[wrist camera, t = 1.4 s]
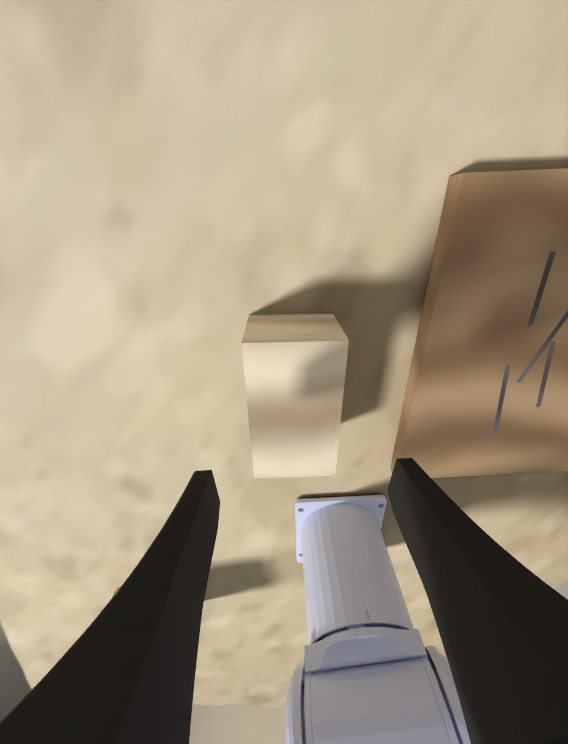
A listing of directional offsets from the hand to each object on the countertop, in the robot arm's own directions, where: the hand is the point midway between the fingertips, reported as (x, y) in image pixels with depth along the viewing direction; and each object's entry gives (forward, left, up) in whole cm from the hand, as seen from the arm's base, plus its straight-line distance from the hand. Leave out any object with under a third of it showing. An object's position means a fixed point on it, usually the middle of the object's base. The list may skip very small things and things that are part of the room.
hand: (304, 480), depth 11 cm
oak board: (+1, -15, -9) cm, 17 cm away
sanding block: (0, 0, -9) cm, 9 cm away
